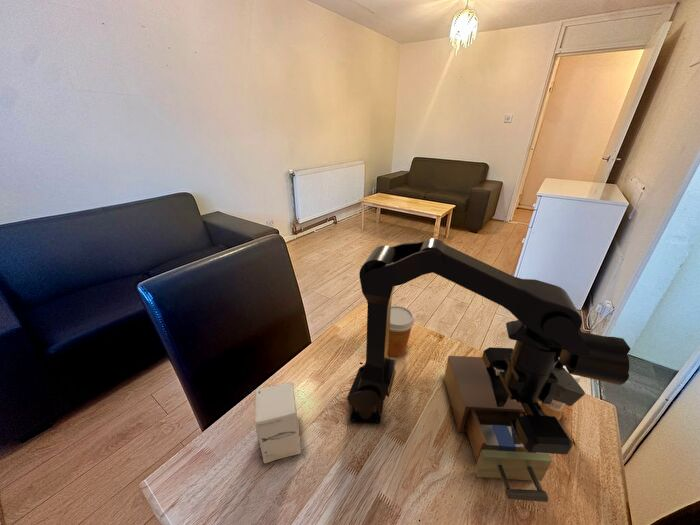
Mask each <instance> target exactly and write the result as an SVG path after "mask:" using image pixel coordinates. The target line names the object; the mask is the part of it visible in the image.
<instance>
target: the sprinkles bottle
mask: <svg viewBox="0 0 700 525" xmlns="http://www.w3.org/2000/svg"><path fill="white" fill-rule="evenodd" d="M563 368H565V369H566V366H563ZM566 371H567V369H566ZM567 372H568V371H567ZM568 373H569V372H568ZM571 375H572V374H571ZM572 376H573V378H574V379H575V380H576V381H577V383H578V384H579V383H580V381H581V379H582V377H581V376H577V375H572ZM538 403H539V405H540V407H541V408H542V410H543V412H544V413H545V415H548V416H555V417H556V418H557V419H558V420H559V421H560V420H561V418H562V414H563V412H564V410H565V409H566V407H567V405H566V404H565V403H562V402H559V401H555V400H552V403H551V404H543V403H542V401H538Z"/></svg>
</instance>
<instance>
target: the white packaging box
mask: <svg viewBox="0 0 700 525" xmlns="http://www.w3.org/2000/svg"><path fill="white" fill-rule="evenodd" d="M295 394H296V393H295V387H294V381H289V382H283V383H280V384H276V385H271V386H266V387H261V388H256V389H255V390H254V425H255V429H256V435H257V438H258V444H259V447H260V452H261V456H262V457H261V458H262V460H263V464H267V463H268V464H269V463H271V462H273V461H277V460H281V459H285V458H289V457H292V456H296V455H299V454H302V446H301V439H300V438H301V437H300V428H299V420H298V412H297V405H296V404H297V402H296V395H295Z"/></svg>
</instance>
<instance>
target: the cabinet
mask: <svg viewBox="0 0 700 525" xmlns="http://www.w3.org/2000/svg"><path fill="white" fill-rule="evenodd" d="M443 381H444V385H445V389H446V393H447V395H448V399H449V402H450V407H451V409H452V412H453V417H454V420H455V424H456V428H457V430H458V432H459V433H467V430H466V427H465V422H466V418H467V415H468V411H469V409H471V410H490V411H509V412H522V413H523V415H527V414H526V412H525V410H524V408H523V406H522V404H521V402H515V401H514V400H512V399H510V397H508V400H507V402H506V403H505V405H504V406H503V407H498V406H497V404H496V401H495V397H494V393H493V389H492V386H491V383H490V380H489V376H488V373H487V370H486V365H485V363H484V361H483V359H482V356H468V355H467V356H464V355H448V356H447V361H446V366H445V372H444V375H443Z"/></svg>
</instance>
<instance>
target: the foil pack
mask: <svg viewBox="0 0 700 525" xmlns="http://www.w3.org/2000/svg"><path fill="white" fill-rule="evenodd" d="M480 425H481V428H482V431H483V434H484V436H485V439H486V442H487V444H486V447H485V450H495V451H512V452H528V450H527V449H525V448H524V445H523V443H522V444H514V443H513V439H512V431H511V426H506V425H485V424H480Z"/></svg>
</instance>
